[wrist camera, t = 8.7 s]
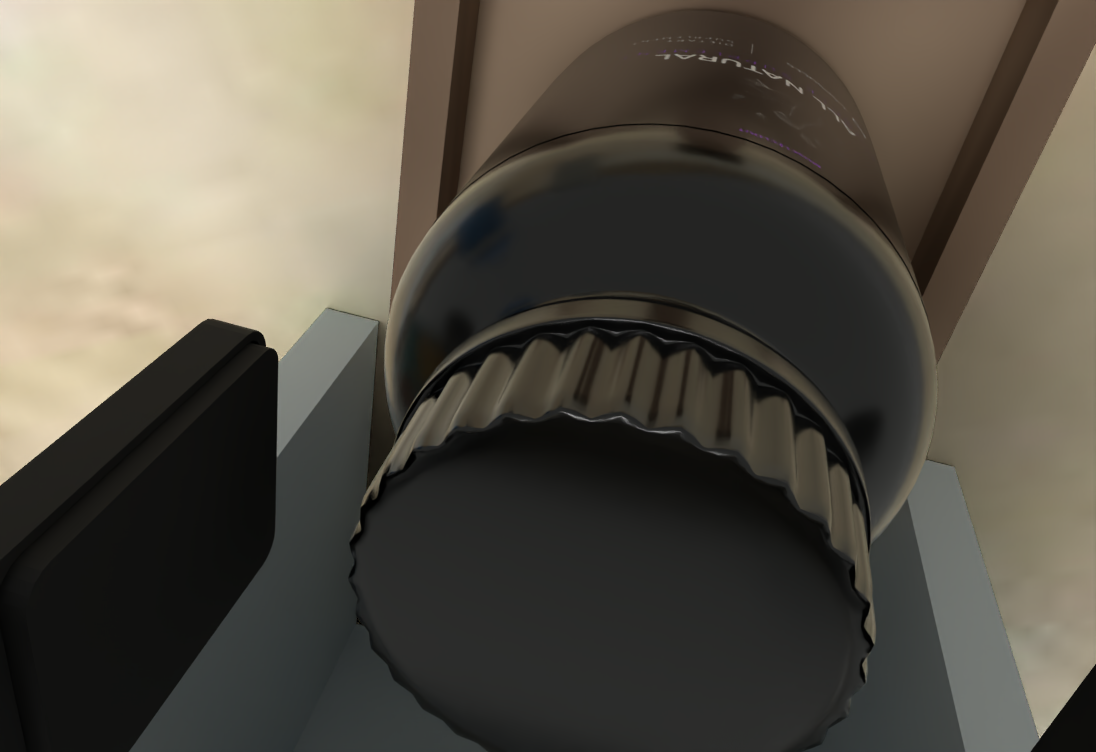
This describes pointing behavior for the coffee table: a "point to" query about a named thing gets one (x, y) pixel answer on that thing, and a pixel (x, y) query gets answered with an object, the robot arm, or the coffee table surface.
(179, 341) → the robot arm
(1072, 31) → the paddle tray
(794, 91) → the supplement bottle
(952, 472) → the shelf
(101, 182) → the coffee table surface
